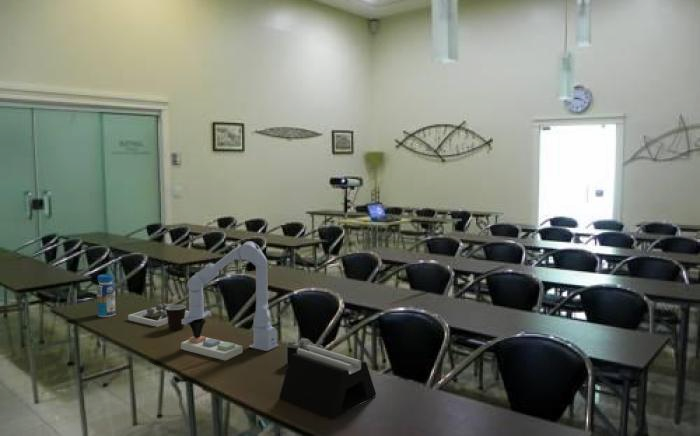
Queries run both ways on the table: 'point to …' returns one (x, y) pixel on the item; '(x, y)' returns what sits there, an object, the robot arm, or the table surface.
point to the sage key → (226, 346)
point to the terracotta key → (197, 339)
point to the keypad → (211, 350)
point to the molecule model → (159, 308)
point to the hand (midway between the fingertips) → (197, 337)
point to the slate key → (211, 342)
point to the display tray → (139, 318)
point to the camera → (302, 344)
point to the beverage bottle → (106, 296)
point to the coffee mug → (175, 317)
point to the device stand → (326, 382)
